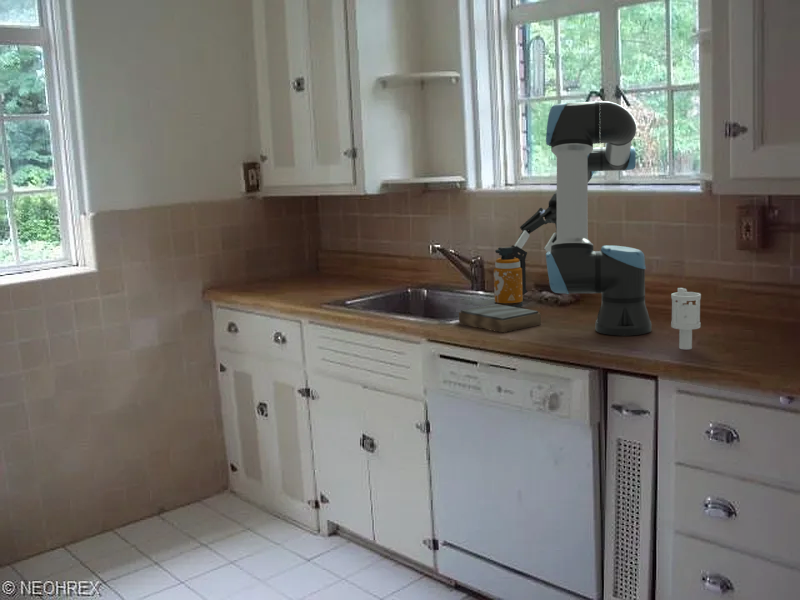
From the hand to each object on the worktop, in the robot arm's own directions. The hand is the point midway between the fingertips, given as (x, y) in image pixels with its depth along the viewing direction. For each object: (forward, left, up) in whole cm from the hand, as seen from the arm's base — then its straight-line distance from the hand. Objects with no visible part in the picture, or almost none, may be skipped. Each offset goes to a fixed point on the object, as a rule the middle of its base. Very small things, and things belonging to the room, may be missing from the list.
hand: (531, 249), depth 300 cm
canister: (0, +10, -18) cm, 20 cm away
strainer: (-73, +19, -18) cm, 78 cm away
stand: (-16, +30, -18) cm, 38 cm away
